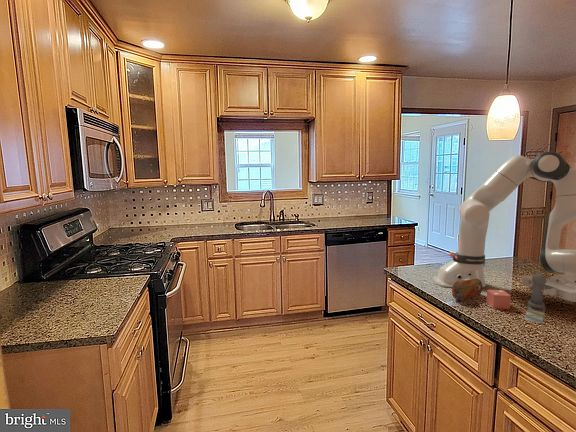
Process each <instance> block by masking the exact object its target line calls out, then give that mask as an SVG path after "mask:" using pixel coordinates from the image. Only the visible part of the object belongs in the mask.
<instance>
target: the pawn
mask: <svg viewBox="0 0 576 432" xmlns="http://www.w3.org/2000/svg"><path fill="white" fill-rule="evenodd" d="M533 275H534V276H533V277H532V282H533V286H532V290H531V297H530V299H529V300H528V302H527V305H528V307H529V306H531V307H534V308H546V304H545V302H544V300H543V299H544V294H541V289H544V285H545V283H546V278H547V277H546V276H544V275H543V274H541V273H536V274H533Z"/></svg>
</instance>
